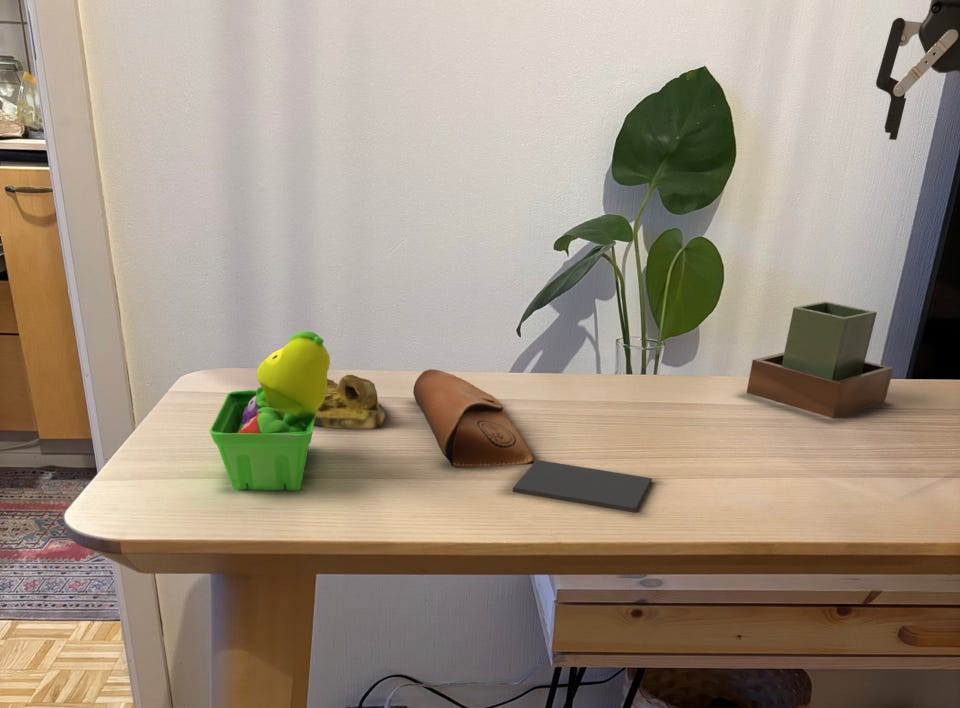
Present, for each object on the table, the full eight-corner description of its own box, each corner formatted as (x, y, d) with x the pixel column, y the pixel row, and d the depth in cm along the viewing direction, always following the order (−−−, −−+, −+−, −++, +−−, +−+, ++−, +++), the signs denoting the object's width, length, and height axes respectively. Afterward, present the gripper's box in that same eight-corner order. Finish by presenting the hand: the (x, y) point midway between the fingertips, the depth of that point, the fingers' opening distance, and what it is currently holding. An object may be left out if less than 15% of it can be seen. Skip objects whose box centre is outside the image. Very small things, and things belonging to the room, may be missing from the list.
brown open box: (799, 384, 109) (807, 346, 107) (883, 407, 102) (893, 368, 100) (745, 398, 103) (752, 359, 100) (831, 424, 96) (840, 383, 94)
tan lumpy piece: (238, 414, 94) (347, 449, 86) (229, 367, 91) (340, 399, 83) (307, 385, 100) (415, 415, 92) (300, 340, 97) (411, 367, 89)
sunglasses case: (542, 460, 82) (507, 394, 78) (471, 502, 82) (434, 439, 79) (494, 398, 97) (463, 341, 93) (434, 434, 97) (401, 379, 94)
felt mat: (651, 484, 80) (652, 477, 79) (635, 515, 74) (636, 508, 74) (536, 466, 82) (536, 459, 82) (512, 494, 76) (512, 487, 76)
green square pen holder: (806, 385, 106) (825, 301, 101) (855, 399, 102) (877, 312, 97) (775, 394, 102) (793, 307, 98) (825, 408, 98) (846, 318, 94)
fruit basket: (233, 447, 83) (221, 313, 77) (336, 448, 84) (332, 316, 78) (214, 497, 73) (198, 348, 67) (330, 498, 74) (325, 351, 68)
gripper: (907, -61, 88) (863, 138, 96) (1079, -59, 84) (1018, 148, 92) (904, -48, 94) (863, 138, 102) (1064, -45, 90) (1008, 147, 98)
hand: (937, 142), depth 97 cm, fingers open, 8 cm apart
